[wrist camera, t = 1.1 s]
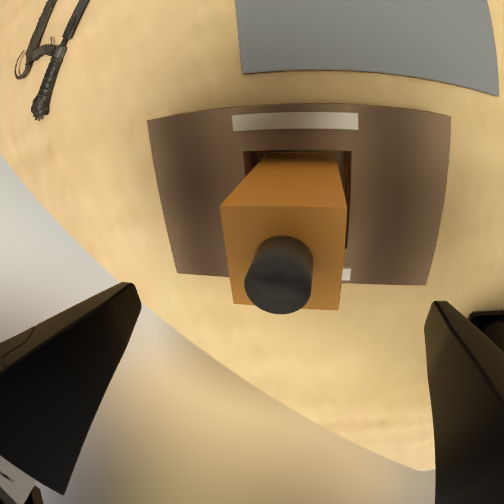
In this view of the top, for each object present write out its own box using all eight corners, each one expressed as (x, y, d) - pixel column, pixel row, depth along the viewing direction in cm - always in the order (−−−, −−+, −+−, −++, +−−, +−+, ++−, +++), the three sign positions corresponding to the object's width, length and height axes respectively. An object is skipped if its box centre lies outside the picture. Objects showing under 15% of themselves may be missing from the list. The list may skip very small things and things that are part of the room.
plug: (334, 153, 16) (351, 229, 7) (333, 215, 18) (338, 339, 9) (267, 153, 17) (203, 225, 8) (271, 213, 19) (222, 330, 10)
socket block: (430, 112, 13) (453, 116, 10) (414, 259, 18) (426, 288, 15) (171, 115, 17) (144, 121, 14) (194, 251, 22) (175, 275, 19)
